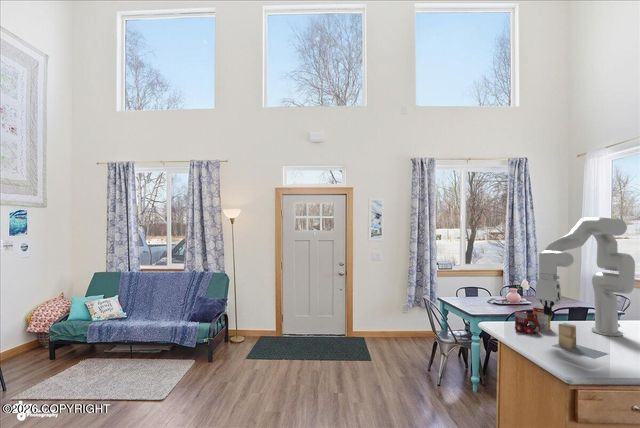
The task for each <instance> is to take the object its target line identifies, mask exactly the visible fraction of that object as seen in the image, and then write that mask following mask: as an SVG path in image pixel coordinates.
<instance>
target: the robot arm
mask: <svg viewBox="0 0 640 428" xmlns="http://www.w3.org/2000/svg"><path fill="white" fill-rule="evenodd" d="M627 231H628V226H627V223H626V222H625V221H624V220H623V219H621V218H610V217H609V218H608V217H601V216H600V217H598V216H597V217H596V216H595V217H582V218H580V219H579V220H578V221H577V222H576V223H575V224H574V225H573V227H572V228H571V229H570V230H569V232H568V233H567V234H566V235H564V236H561V237H560V238H557V239H555V240H553V241H551V242H550V243H549V244H547V246H546V247H545V248H544V249H543V250H542V251H540V252H539V253H538V278H537V279H536V285H535V298H536V301H537V302H539V303H541V305H542V306H544V315H550V316H552V313H553V309H552V308H553V307H554V306H555V305H560V304H561V301H562V291H561V284H560V282H559V280H560V276H559V275H558V267H560V268H568V267H570V266H572V265H573V264H574V261H575V259H574V257H573V255H572V254H571V253H569V252H567V251H568V250H575V249H577V248H580V247H582V246H584V245H585V243H586V242H587V241H588V240H589V238H590V237H591V236H593V238H594V239H595V241H596V245H597V246H596V247H597V248H596V265H597V267H598V268H599V269H601V270H603V272H601V271H599V272H595V273H594V274H592V277H591V284H592V285H591V286H592V288H593V289H592V290H593V292H594V293H593V294H594V326H593V327H591V331H592V332H593V333H596V334H597V335H603V336H609V337H621V336H622V335H623V332H622V331H620V330H619V328H621V324H620V323H619V313H618V311H619V310H618V309H619V306H618V298H617V296H616V294H615V293H618V294H623V295H629V294H631V293H632V292H633V291H634V287H635V277H636V276H635V275H636V262H635V258H634V257H633V256H632V255H630V254H629V253H623V252H619V251H618V247H619V245H618V241H617V240H616V238H615V236H618V237H619V236H623V235H624V234H625V233H626V232H627ZM604 270H605V271H610V272H605V271H604ZM611 271H613V272H614V271H615V272H618V273H612V272H611Z"/></svg>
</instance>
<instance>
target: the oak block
mask: <svg viewBox="0 0 640 428" xmlns="http://www.w3.org/2000/svg"><path fill="white" fill-rule="evenodd" d="M557 325H558V344H559V346H562V347H566V348H569V349H571V348H575V347H576V345H577V325H576V324H572V323H567V322H562V323H558V324H557Z"/></svg>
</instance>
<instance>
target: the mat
mask: <svg viewBox="0 0 640 428" xmlns="http://www.w3.org/2000/svg"><path fill="white" fill-rule="evenodd" d="M551 347H553V348H557V349H561V350H564V351H568V352H570V353H574V354H578V355H579V356H580V355H581V356H584V357H588V358H591V359H598V358H601V357H604V356H607V355H609V353H608V352H604V351H601V350H597V349H593V348H589V347H585V346H582V345H579V344H576V347H575V348H571V349H569V348H566V347H562V346H559V343H557V344H553V345H551Z"/></svg>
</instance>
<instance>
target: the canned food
mask: <svg viewBox="0 0 640 428" xmlns="http://www.w3.org/2000/svg"><path fill="white" fill-rule="evenodd" d="M532 308H533V309H532V314H534V317H535V318H537V320H538V322H539V324H540V332H541V331H550V330H551V315H544V306H543V305H542V304H539V305H538V304H536V305H533V306H532Z"/></svg>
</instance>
